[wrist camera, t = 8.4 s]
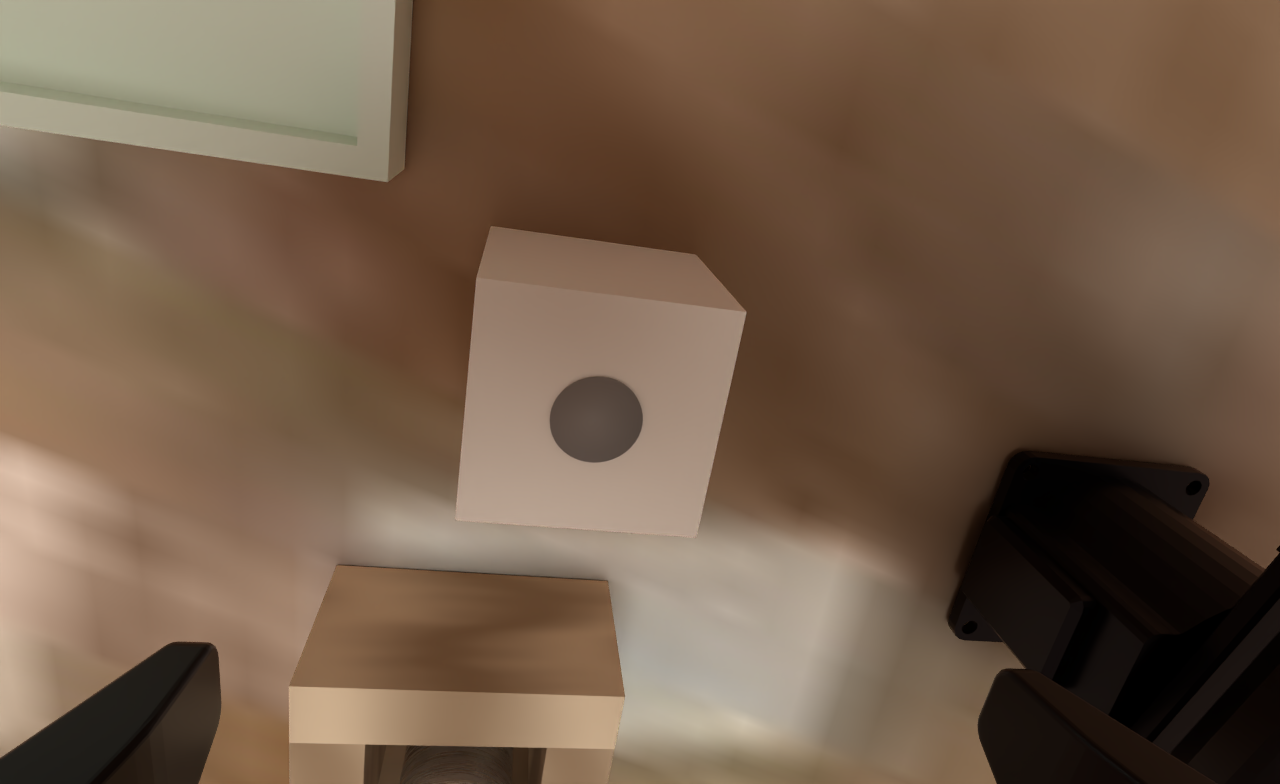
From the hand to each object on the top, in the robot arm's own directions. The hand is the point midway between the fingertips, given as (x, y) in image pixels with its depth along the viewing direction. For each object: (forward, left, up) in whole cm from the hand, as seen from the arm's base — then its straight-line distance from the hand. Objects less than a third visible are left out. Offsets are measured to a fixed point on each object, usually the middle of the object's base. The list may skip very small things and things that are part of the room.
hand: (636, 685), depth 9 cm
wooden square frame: (+2, +11, -12) cm, 16 cm away
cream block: (0, 0, -12) cm, 12 cm away
